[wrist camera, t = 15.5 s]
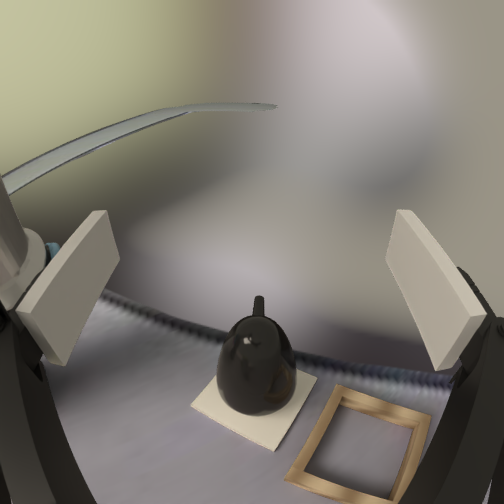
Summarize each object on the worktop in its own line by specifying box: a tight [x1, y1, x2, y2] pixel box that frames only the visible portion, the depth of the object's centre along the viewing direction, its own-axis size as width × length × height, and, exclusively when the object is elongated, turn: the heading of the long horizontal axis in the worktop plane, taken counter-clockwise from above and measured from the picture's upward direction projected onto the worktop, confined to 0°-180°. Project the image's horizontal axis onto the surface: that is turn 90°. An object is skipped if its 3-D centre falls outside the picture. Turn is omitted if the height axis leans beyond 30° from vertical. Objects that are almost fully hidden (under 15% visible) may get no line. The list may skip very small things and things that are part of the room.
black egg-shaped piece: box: [216, 296, 297, 417], centre depth 35 cm, size 10×10×15 cm
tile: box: [191, 369, 317, 452], centre depth 39 cm, size 13×13×1 cm
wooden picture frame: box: [284, 384, 431, 504], centre depth 30 cm, size 15×15×2 cm
